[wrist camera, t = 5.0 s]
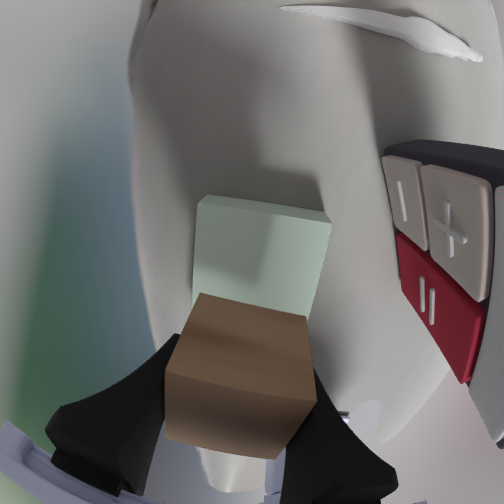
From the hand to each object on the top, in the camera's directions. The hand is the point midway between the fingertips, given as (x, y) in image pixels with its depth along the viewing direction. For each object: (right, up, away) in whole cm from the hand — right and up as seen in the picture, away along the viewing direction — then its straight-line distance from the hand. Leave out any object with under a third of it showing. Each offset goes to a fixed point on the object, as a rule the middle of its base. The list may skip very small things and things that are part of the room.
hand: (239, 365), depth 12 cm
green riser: (+1, +4, +8) cm, 9 cm away
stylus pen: (+10, +20, +1) cm, 22 cm away
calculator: (+12, +7, +5) cm, 15 cm away
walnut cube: (0, 0, +2) cm, 2 cm away
